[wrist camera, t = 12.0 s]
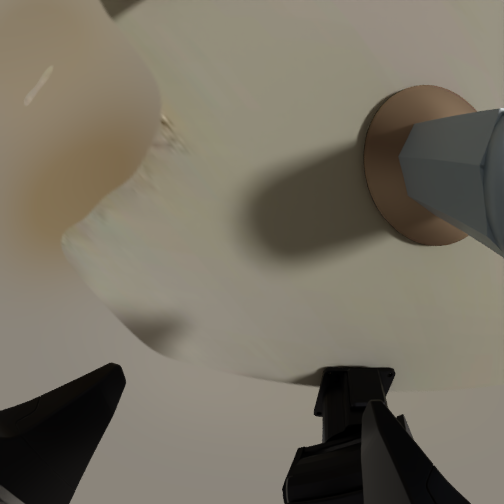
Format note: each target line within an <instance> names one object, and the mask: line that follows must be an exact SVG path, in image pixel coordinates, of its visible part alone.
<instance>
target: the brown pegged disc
mask: <svg viewBox="0 0 504 504" xmlns="http://www.w3.org/2000/svg"><path fill="white" fill-rule="evenodd" d="M473 112H477V111H476V110H475V109H474V107H472V106H471V105H470V104H469V103H468V102H467V101H466V100H465V99H463V98H462V97H460V96H459V95H457V94H456V93H454V92H452V91H450V90H447V89H445V88H442V87H437V86H432V85H420V86H413V87H410V88H406V89H404V90H402V91H400V92H398V93H396V94H395V95H393V96H392V97H391V98H389V99H388V100H387V101H386V102H385V103H384V104H383V105H382V106H381V107H380V108H379V110H378V111H377V112H376V114H375V116H374V118H373V119H372V121H371V124H370V126H369V129H368V132H367V136H366V140H365V146H364V169H365V176H366V180H367V185H368V188H369V191H370V193H371V196H372V198H373V200H374V202H375V204H376V206H377V208H378V209H379V211H380V212H381V214H382V215H383V217H384V218H385V219H386V220H387V221H388V222H389V223H390V224H391V225H392V226H393V227H394V228H395V229H396V230H397V231H398V232H400V233H401V234H403V235H404V236H405V237H407V238H409V239H411V240H413V241H415V242H418V243H421V244H425V245H430V246H442V245H449V244H452V243H455V242H458V241H460V240H462V239H464V238H465V237H467V236H468V234H466V233H465V232H463V231H461V230H460V229H458V228H456V227H455V226H453V225H451V224H449V223H448V222H446V221H444V220H442V219H441V218H439V217H437V216H435V215H434V214H433V213H431V212H430V211H429V210H427V209H426V208H424V207H423V206H422V205H420V204H419V203H418V202H416V201H415V200H413V199H412V198H410V197H409V196H408V194H407V190H406V185H405V181H404V177H403V173H402V169H401V165H400V161H399V157H398V156H399V154H400V152H401V150H402V148H403V146H404V144H405V142H406V140H407V138H408V136H409V134H410V132H411V130H412V128H413V125H414V124H416V123H420V122H425V121H430V120H435V119H440V118H445V117H450V116H455V115H461V114H467V113H473Z"/></svg>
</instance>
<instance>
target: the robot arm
mask: <svg viewBox="0 0 504 504" xmlns="http://www.w3.org/2000/svg"><path fill="white" fill-rule="evenodd" d="M328 373H331V374H328ZM389 373H391V374H389ZM394 377H395V371H394V369H393V368H332V367H330V368H326V369H325V370H324V372H323V376H322V381H321V385H320V389H319V393H318V397H317V401H316V405H315V409H314V415H315V416H319V417H323V435H322V437H323V439H322V443H321V444H318V445H313V446H309V447H301V448H298V450H297V452H296V455H295V458H294V460H293V462H292V465H291V467H290V470H289V472H288V475H287V477H286V479H285V482H284V485H283V488H282V491H283V499H284V503H285V504H471V503H470V502H469V501H468V500H467V499H465V498H464V497H463V496H462V495H461V494H460V493H459V492H458V491H457V490H456V489H455V488H454V487H453V486H452V485H451V484H450V483H449V482H448V481H447V480H446V479H445V478H444V476H443V475H442V474H441V473H440V472H439V471H438V470H437V468H436V467H435V466H433V463H432V462H431V461H430V460H429V458H428V457H427V456H426V454H425V453H424V452H423V451H422V450H421V448H420V447H419V446H418V445H417V443H416V442H415V441H414V440H413V437H412V434H411V432H410V429H409V427H408V424H407V422H406V419H405V417H404V415H403V414H402V415H400V416H397V418H396V417H395V416H394V415H393V414H392V413H391V411H390V410H389V409H388V406H387V401H386V394H387V393H388V390H389V388H390V386H391V384H392V381H393V379H394ZM125 384H126V379H125V376H124V373H123V370H122V368H121V366H120V365H118V364H115V363H109V364H107V365H104V366H103V367H100V368H98V369H96V370H94V371H92V372H90V373H88V374H86V375H84V376H82V377H80V378H78V379H76V380H73V381H71V382H69V383H67V384H65V385H63V386H61V387H59V388H56V389H54V390H52V391H50V392H48V393H45V394H43V395H41V397H40V396H39V397H37V398H35V399H33V400H30V401H27V402H25V403H22V404H19V405H17V406H14V407H11V408H8V409H4V410H2V411H0V504H69V503H70V501H71V499H72V497H73V495H74V493H75V490H76V488H77V486H78V484H79V481H80V480H81V477H82V476H83V473H84V472H85V470H86V467H87V465H88V463H89V461H90V459H91V457H92V455H93V454H94V452H95V450H96V448H97V445H98V444H99V442H100V440H101V438H102V436H103V434H104V432H105V430H106V428H107V426H108V424H109V423H110V421H111V419H112V417H113V414H114V412H115V410H116V408H117V405H118V402H119V400H120V397H121V395H122V392H123V390H124V387H125Z"/></svg>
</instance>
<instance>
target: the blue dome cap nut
mask: <svg viewBox="0 0 504 504" xmlns="http://www.w3.org/2000/svg"><path fill="white" fill-rule="evenodd" d="M398 157H399V161H400V165H401V169H402V173H403V177H404V181H405V185H406V190H407V194H408V196H409V197H410V198H412V199H413V200H415V201H416V202H418V203H419V204H420V205H422V206H423V207H424V208H426V209H427V210H429V211H430V212H431V213H433V214H434V215H435V216H437V217H439V218H441V219H442V220H444V221H446V222H448V223H449V224H451V225H453V226H455V227H456V228H458V229H460V230H461V231H463V232H465V233H466V234H468V235H469V236H471V237H473V238H474V239H476V240H478V241H479V242H481V243H482V244H484V245H485V246H487V247H488V248H490V249H491V250H493V251H494V252H496V253H497V254H499V255H500V256H502V257H503V258H504V108H501V109H493V110H486V111H479V112H473V113H467V114H461V115H455V116H450V117H445V118H440V119H435V120H430V121H425V122H420V123H416V124H414V125H413V128H412V130H411V132H410V134H409V136H408V138H407V140H406V142H405V144H404V146H403V148H402V150H401V152H400V154H399V156H398Z"/></svg>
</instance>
